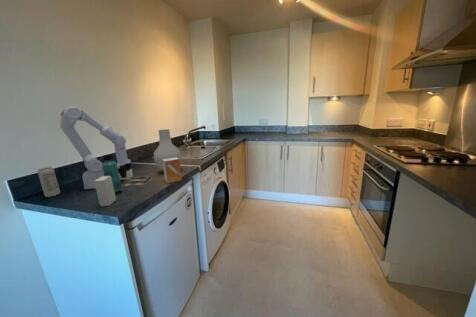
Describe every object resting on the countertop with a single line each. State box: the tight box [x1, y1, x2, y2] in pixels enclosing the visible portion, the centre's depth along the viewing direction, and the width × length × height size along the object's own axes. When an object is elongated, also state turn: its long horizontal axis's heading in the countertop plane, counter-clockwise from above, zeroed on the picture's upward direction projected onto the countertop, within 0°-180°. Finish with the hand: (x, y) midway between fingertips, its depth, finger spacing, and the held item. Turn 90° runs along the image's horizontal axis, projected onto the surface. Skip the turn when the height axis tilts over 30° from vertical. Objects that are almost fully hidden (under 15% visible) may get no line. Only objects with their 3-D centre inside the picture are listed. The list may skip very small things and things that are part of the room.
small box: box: [162, 157, 183, 184], centre depth 115 cm, size 8×6×13 cm
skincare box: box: [94, 176, 117, 207], centre depth 89 cm, size 6×4×12 cm
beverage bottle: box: [102, 153, 122, 193], centre depth 100 cm, size 6×7×20 cm
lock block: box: [118, 168, 134, 181], centre depth 124 cm, size 7×4×6 cm, turn 91°
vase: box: [153, 129, 181, 171], centre depth 131 cm, size 17×16×28 cm
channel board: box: [123, 175, 153, 187], centre depth 116 cm, size 12×9×2 cm
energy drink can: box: [37, 165, 61, 198], centre depth 101 cm, size 6×6×15 cm
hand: (125, 176), depth 124 cm, fingers closed on lock block, 4 cm apart
